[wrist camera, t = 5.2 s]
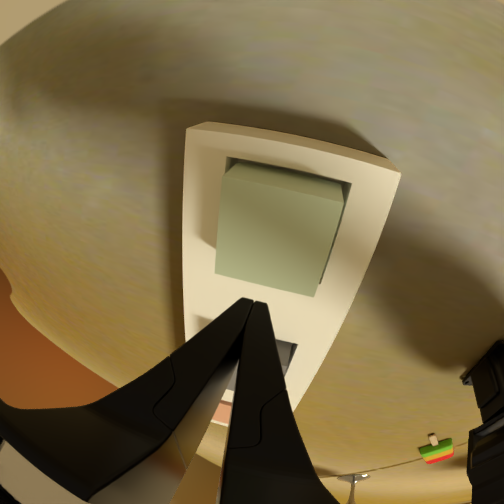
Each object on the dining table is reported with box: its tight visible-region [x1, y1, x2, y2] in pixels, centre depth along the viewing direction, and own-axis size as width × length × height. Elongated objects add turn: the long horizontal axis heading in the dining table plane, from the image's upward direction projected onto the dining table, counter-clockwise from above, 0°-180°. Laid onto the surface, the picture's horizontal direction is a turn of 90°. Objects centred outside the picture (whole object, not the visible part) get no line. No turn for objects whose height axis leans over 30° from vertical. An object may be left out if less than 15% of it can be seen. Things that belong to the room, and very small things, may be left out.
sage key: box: [215, 162, 344, 297], centre depth 14 cm, size 5×5×2 cm
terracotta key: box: [212, 400, 232, 424], centre depth 27 cm, size 5×5×2 cm
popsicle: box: [420, 434, 454, 464], centre depth 30 cm, size 6×15×2 cm, turn 37°
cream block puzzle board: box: [182, 121, 401, 427], centre depth 21 cm, size 10×30×3 cm, turn 172°
